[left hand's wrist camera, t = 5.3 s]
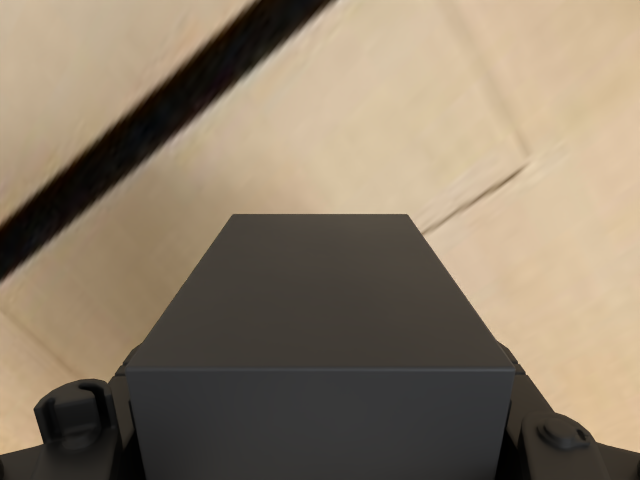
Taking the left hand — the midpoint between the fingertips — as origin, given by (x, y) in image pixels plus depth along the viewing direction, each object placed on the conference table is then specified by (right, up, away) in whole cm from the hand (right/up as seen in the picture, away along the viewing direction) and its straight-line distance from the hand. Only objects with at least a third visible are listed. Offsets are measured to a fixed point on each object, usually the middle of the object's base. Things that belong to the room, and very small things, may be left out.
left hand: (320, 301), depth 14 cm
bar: (0, -9, +4) cm, 10 cm away
